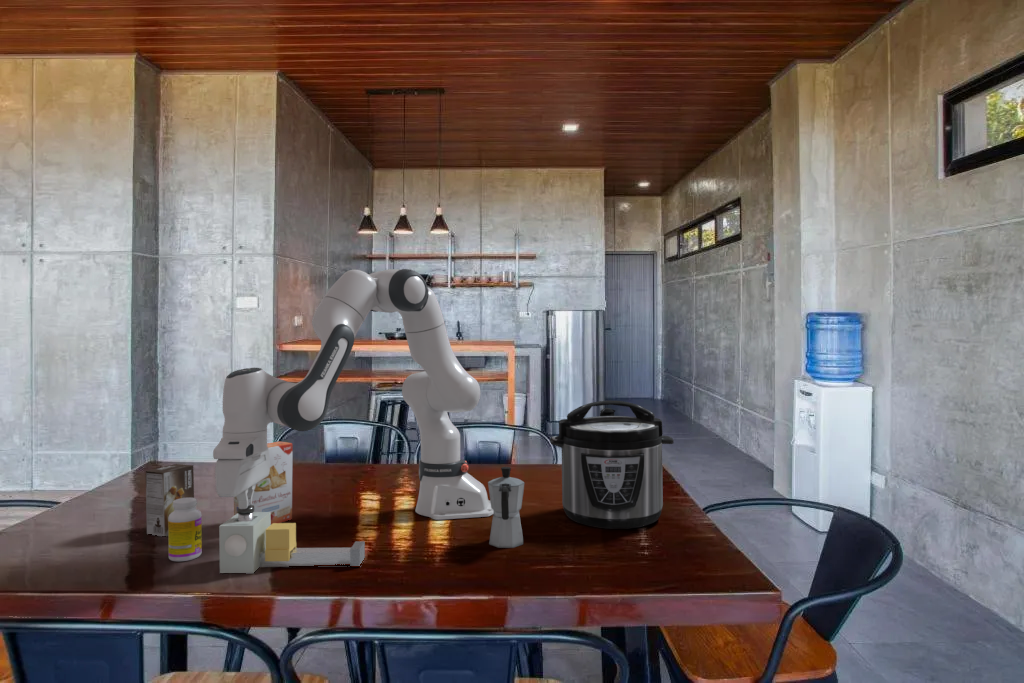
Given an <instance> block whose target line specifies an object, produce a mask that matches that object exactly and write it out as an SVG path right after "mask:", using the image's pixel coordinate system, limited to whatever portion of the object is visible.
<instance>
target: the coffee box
mask: <svg viewBox="0 0 1024 683" xmlns="http://www.w3.org/2000/svg"><path fill="white" fill-rule="evenodd" d="M194 475H195V474H194V464H193V465H192V464H179V463H174V464H170V465H166V466H161V467H158V468H153V469H148V470H146V471H145V500H146V502H145V504H146V505H145V506H146V508H145V509H146V534H147V535H148V534H152V535H151V536H155V535H157V536H158V537H162V536H166V537H168V517H169V515H170V514H171V513H172V512H173V511H174V507H173V501H174V500H176V499H180V498H195V486H194V485H195V482H194V481H195V480H194V478H195V477H194ZM157 536H156V537H157Z"/></svg>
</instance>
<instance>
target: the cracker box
mask: <svg viewBox="0 0 1024 683" xmlns="http://www.w3.org/2000/svg"><path fill="white" fill-rule="evenodd" d="M293 446H294V445H293V443H292V442H287V441H274V442H267V447H268V450H269V460H270V472H269V475H268V476H267V477H265V478H264V479H262V480H261V481H259V482H257V483H256V484H255V489H254V493H253V497H252V505H253V506H254V512H271V524H273V523H286V522H287V521H288V520H289V521H292V520H293V454H294V453H293ZM238 507H239V501H238V499H237V496H235V497H233V516H234V515H236V514H237V508H238ZM291 519H292V520H291Z"/></svg>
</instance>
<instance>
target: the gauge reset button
mask: <svg viewBox="0 0 1024 683" xmlns="http://www.w3.org/2000/svg"><path fill="white" fill-rule="evenodd" d="M253 512H254V506H253V505H251V506H249V507H248V508H246V509H239V507H238V508H237V513H238V521H252V520H253Z"/></svg>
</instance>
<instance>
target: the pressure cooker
mask: <svg viewBox="0 0 1024 683" xmlns="http://www.w3.org/2000/svg"><path fill="white" fill-rule="evenodd" d="M611 405H612V406H618V407H627V408H629V409H630V410H631V411H632V414H634V416H627V415H626V416H625V415H623V416H622V415H616V414H615V412H616V410H615V409H613V408H610V407H604V408H602V409H601V410H600V413H599V416H597V415H596V416H591V417H586V415H587V414H588V413H589V412H590V410H591V409H592V407H601V406H611ZM663 430H664V429H663V421H662V419H660V418H657V417H655V414H654V412H652V411H651V410H649V409H647V408H646V407H643V406H641V405H639V404H637V403H633V402H629V401H622V400H600V401H598V400H597V401H593V402H590V403H586V404H583V405H581V406H578V407H577V408H574V409H573V410H571V411H570V412H568V414H566V418H562V419H560V420H559V421H558V435H555V436H550V439H549V440H550V441H549V443H550V445H553V446H556V447H559V448H561V485H562V486H561V488H562V489H561V492H562V493H561V496H562V497H561V499H562V502H561V503H562V508H563V509H562V510H563V511H564V513H565V515H566V517H567V518H569V519H570V520H572V521H573V522H576V523H578V524H581V525H585V526H589V527H592V528H593V527H594V528H599V529H600V528H601V529H612V530H613V529H620V530H621V529H634V528H641V527H646V526H649V525H651V524H654V523H655V522H657V521H658V520H659V518H660V517H661V515H662V511H663V505H664V502H663V500H664V499H663V498H664V497H663V494H664V493H663V445H673V444H674V438H673V437H671V436H669V435H664V434H663V432H664V431H663Z"/></svg>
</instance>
